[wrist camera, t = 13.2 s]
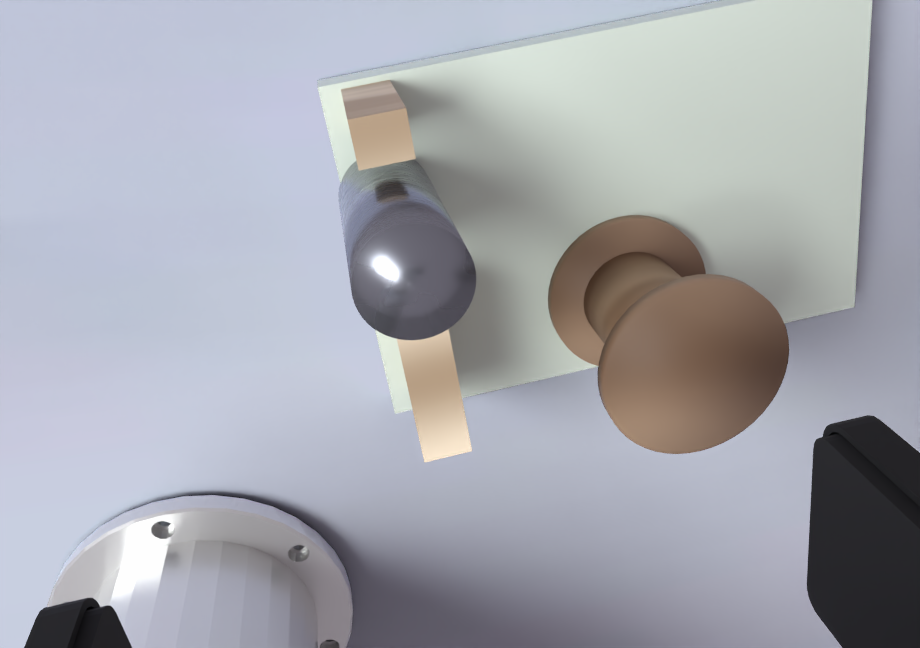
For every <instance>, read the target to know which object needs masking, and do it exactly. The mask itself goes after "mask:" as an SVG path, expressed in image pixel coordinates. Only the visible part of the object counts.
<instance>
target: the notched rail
mask: <svg viewBox="0 0 920 648" xmlns="http://www.w3.org/2000/svg"><path fill="white" fill-rule="evenodd" d="M341 93H342V98H343V102H344V107H345V112H346V116H347V121H348V125H349V130H350V134H351V139H352V143H353V147H354V152H355V156H356V161H357V165H358V170H359V171H360V170H365V169H369V168H374V167H379V166H384V165H389V164H393V163H398V162H403V161H408V160H413V159H416V157H415V152H414V146H413V141H412V136H411V131H410V126H409V120H408V115H407V110H406V107H405V105H404V104H403V102H402V100H401V98H400V97H399V95H398V93H397V92H396V90H395V88H394V86H393V85H392V83H391V81H390V80H385V81H380V82H375V83H370V84H365V85H360V86H355V87H350V88H345V89H341ZM397 342H398V347H399V351H400V356H401V360H402V365H403V369H404V374H405V378H406V382H407V387H408V391H409V396H410V400H411V405H412V409H413V413H414V418H415V422H416V427H417V431H418V436H419V440H420V444H421V449H422V453H423V458H424V462H429V461H433V460H437V459H441V458H445V457H450V456H454V455H458V454H462V453H467V452H471V451H472V448H471V443H470V438H469V433H468V427H467V422H466V417H465V412H464V407H463V401H462V396H461V391H460V386H459V381H458V375H457V370H456V365H455V360H454V355H453V349H452V344H451V339H450V334H449V329H448V330H446V331H444V332H442V333H441V334H438V335H436V336H433V337H430V338H426V339H421V340H401V339H397Z"/></svg>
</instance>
